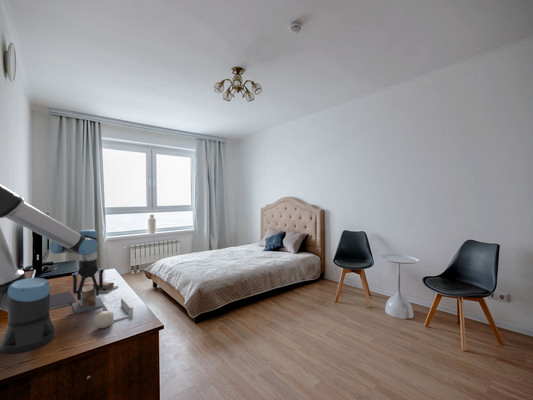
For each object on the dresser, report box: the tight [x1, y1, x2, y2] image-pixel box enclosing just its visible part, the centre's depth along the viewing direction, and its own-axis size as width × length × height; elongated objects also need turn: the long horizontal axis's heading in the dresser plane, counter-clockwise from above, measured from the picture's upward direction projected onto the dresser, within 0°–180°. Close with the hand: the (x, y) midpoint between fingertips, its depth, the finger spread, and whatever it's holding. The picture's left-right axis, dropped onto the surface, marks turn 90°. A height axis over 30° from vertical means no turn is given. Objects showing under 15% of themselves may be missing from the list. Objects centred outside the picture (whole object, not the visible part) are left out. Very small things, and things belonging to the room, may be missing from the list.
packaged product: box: [83, 281, 119, 294], centre depth 151 cm, size 18×5×10 cm
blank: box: [81, 285, 95, 308], centre depth 130 cm, size 5×10×8 cm, turn 44°
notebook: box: [50, 290, 77, 310], centre depth 134 cm, size 13×2×21 cm
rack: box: [102, 297, 134, 323], centre depth 120 cm, size 9×17×4 cm, turn 44°
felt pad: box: [71, 297, 103, 314], centre depth 128 cm, size 12×14×1 cm
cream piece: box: [92, 310, 114, 329], centre depth 107 cm, size 7×7×7 cm
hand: (88, 303), depth 128 cm, fingers closed on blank, 5 cm apart
